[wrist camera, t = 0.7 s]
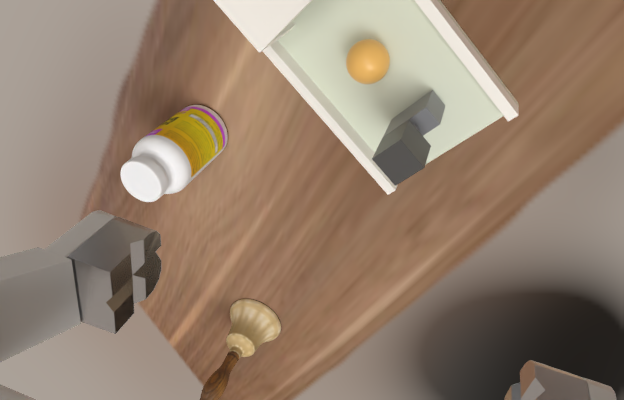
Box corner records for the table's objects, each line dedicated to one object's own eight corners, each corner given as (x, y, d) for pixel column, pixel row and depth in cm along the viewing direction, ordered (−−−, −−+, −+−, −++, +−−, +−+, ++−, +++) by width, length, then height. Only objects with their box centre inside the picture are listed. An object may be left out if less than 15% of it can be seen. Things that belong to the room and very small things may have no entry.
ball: (375, 24, 46) (364, 36, 43) (402, 58, 47) (394, 72, 44) (343, 52, 48) (332, 65, 45) (370, 84, 49) (360, 98, 46)
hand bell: (220, 312, 77) (163, 399, 64) (250, 289, 72) (194, 378, 59) (260, 346, 78) (211, 438, 66) (292, 326, 73) (245, 421, 61)
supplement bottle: (197, 91, 57) (128, 138, 47) (240, 132, 58) (182, 187, 48) (170, 126, 61) (101, 177, 51) (211, 164, 62) (151, 221, 52)
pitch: (335, -139, 41) (303, -141, 35) (518, 102, 47) (518, 138, 40) (228, -11, 50) (187, 6, 44) (393, 180, 55) (378, 219, 49)
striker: (429, 85, 47) (410, 132, 39) (448, 109, 48) (434, 161, 39) (388, 115, 50) (362, 165, 41) (407, 137, 50) (385, 191, 42)
